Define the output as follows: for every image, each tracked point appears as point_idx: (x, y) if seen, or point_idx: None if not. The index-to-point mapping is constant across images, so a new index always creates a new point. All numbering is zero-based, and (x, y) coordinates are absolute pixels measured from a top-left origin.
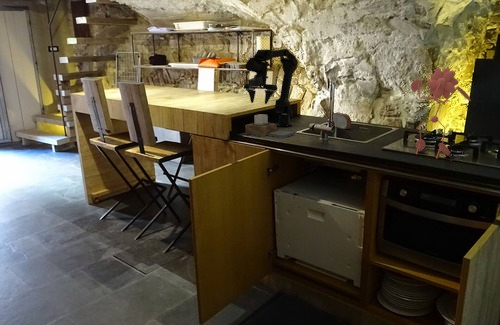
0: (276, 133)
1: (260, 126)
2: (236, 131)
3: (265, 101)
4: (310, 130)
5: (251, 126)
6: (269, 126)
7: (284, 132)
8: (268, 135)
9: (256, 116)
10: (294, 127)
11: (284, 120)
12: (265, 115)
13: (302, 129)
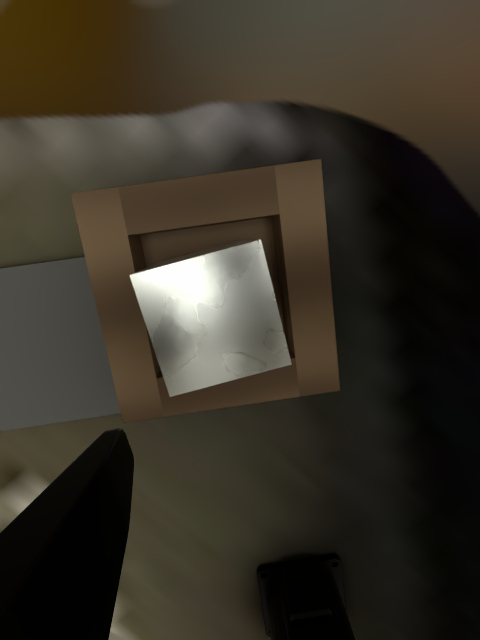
0: (29, 299)
1: (126, 210)
2: (451, 206)
3: (83, 463)
4: None
5: (230, 172)
6: (99, 306)
7: (17, 373)
8: None
9: (227, 248)
10: (207, 601)
11: (284, 619)
12: (156, 350)
13: None
